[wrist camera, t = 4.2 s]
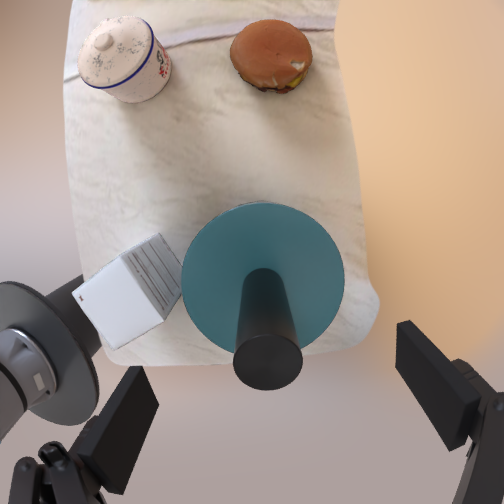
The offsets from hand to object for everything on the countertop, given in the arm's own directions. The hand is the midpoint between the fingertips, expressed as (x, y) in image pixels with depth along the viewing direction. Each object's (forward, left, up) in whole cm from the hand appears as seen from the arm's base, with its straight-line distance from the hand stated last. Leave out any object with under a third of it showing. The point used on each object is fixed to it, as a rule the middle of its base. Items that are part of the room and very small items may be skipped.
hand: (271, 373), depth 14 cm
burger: (+6, +24, -24) cm, 35 cm away
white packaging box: (-14, +1, -24) cm, 28 cm away
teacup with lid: (-11, +28, -24) cm, 39 cm away
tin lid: (0, 0, -13) cm, 13 cm away
